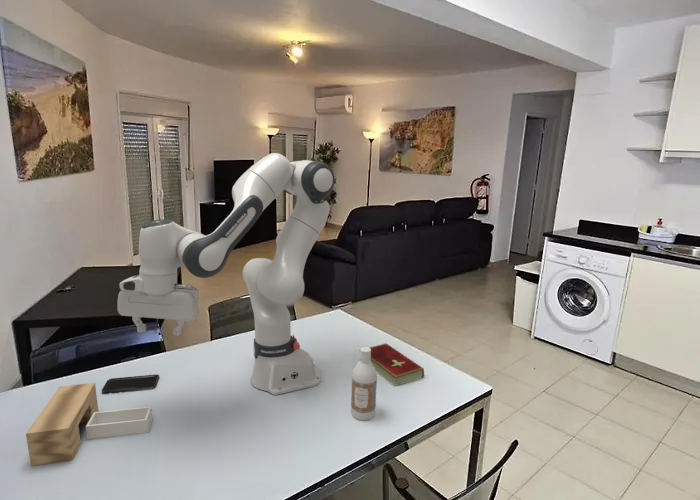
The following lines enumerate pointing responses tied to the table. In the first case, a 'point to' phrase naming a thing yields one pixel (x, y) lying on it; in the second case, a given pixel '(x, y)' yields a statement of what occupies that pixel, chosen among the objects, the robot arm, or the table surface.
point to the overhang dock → (61, 424)
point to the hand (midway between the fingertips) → (159, 333)
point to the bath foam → (364, 387)
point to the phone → (130, 384)
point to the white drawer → (119, 422)
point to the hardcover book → (394, 365)
